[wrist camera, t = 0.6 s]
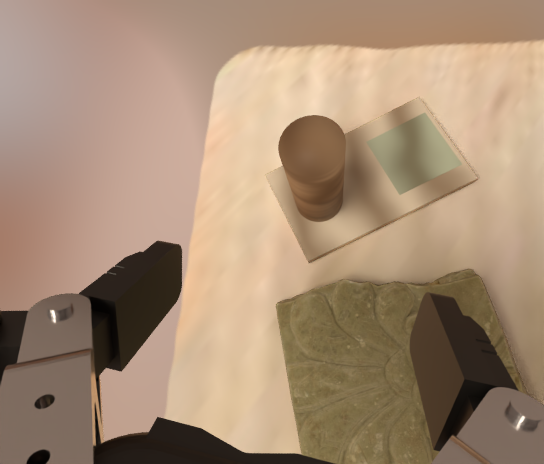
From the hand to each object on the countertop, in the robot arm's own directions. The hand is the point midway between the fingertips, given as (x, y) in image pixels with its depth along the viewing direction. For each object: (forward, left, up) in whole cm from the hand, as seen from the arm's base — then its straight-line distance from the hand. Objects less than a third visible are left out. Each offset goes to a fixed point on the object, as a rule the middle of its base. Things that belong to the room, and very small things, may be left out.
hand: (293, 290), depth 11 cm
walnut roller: (-5, -11, -24) cm, 27 cm away
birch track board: (-11, -11, -25) cm, 29 cm away
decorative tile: (-4, +8, -26) cm, 27 cm away
